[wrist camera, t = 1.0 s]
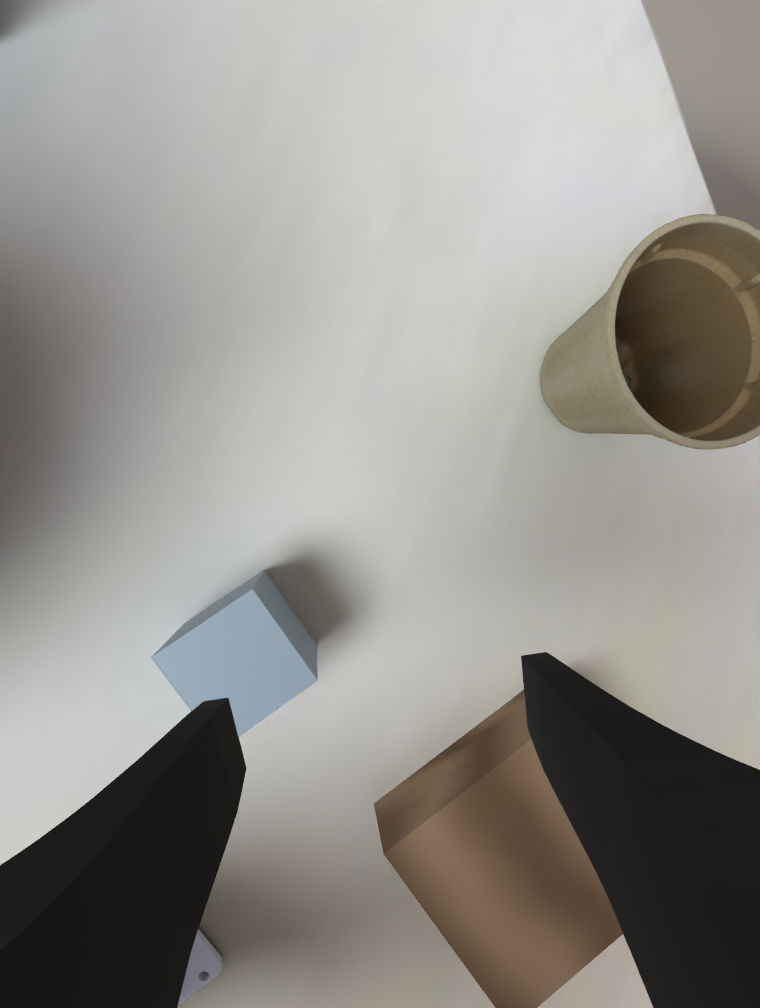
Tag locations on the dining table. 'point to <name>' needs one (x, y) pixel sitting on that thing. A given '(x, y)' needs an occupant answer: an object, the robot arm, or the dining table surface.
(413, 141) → the dining table surface
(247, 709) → the slate cube
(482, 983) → the walnut base block
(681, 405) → the flower pot
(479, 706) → the dining table surface
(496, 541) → the dining table surface
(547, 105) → the dining table surface
